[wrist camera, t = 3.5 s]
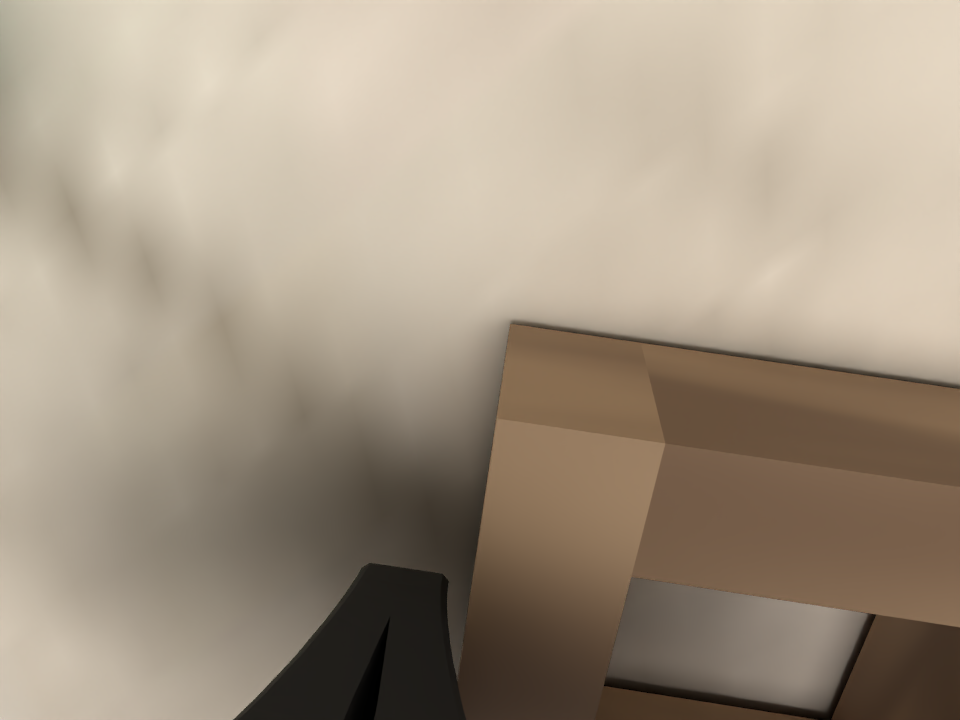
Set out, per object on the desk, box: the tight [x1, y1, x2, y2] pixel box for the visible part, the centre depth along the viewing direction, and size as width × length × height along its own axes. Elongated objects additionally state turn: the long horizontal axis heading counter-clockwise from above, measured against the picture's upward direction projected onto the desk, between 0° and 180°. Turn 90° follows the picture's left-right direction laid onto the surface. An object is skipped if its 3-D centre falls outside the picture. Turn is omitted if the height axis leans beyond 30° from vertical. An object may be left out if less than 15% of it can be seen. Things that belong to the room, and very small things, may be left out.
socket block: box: [457, 324, 960, 720], centre depth 13 cm, size 9×9×3 cm
